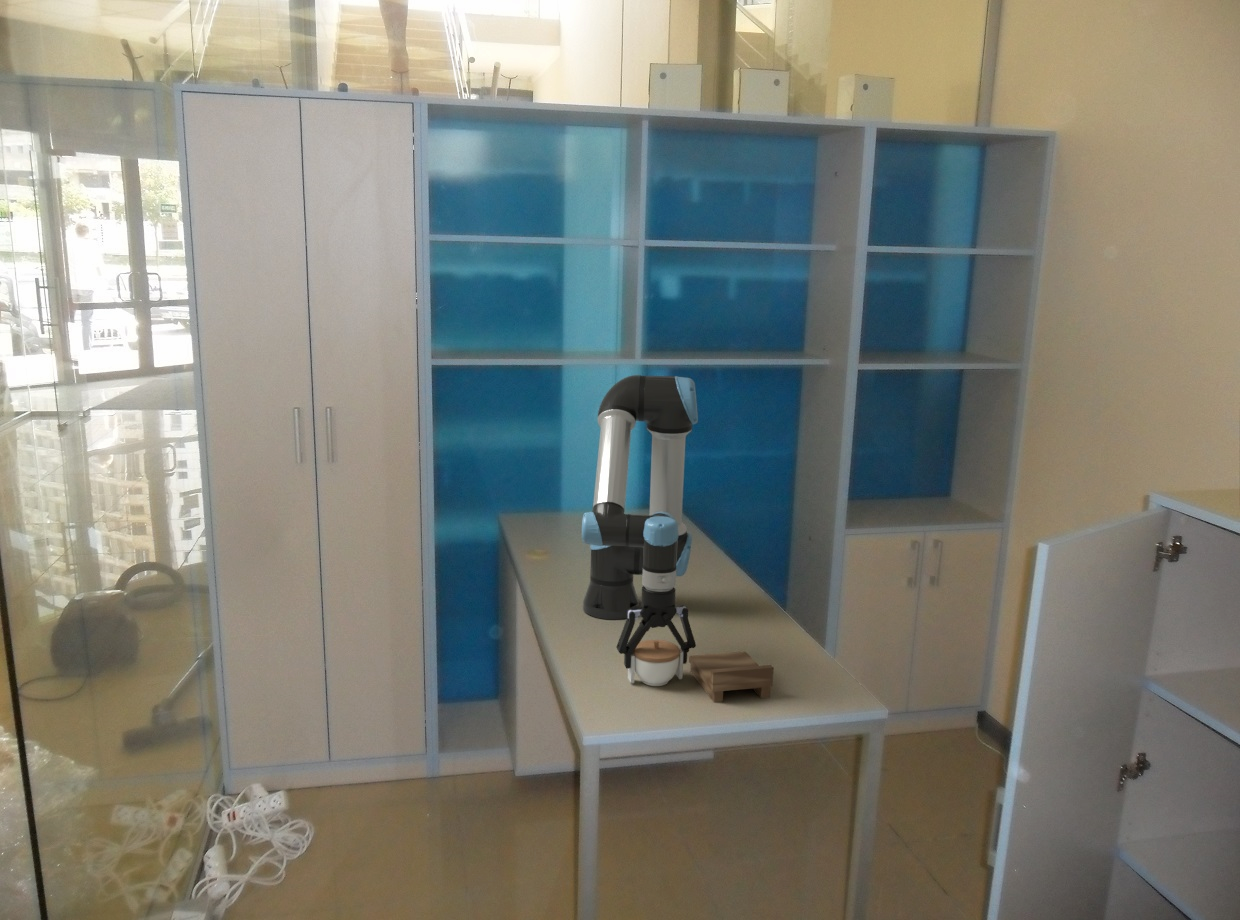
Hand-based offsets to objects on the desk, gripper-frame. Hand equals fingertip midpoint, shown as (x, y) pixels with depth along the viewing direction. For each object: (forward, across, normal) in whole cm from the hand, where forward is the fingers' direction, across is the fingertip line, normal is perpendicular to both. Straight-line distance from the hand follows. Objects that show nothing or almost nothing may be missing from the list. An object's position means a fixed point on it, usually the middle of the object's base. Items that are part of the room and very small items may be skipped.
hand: (655, 678), depth 223 cm
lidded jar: (+1, 0, 0) cm, 1 cm away
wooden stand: (0, +16, -5) cm, 17 cm away
